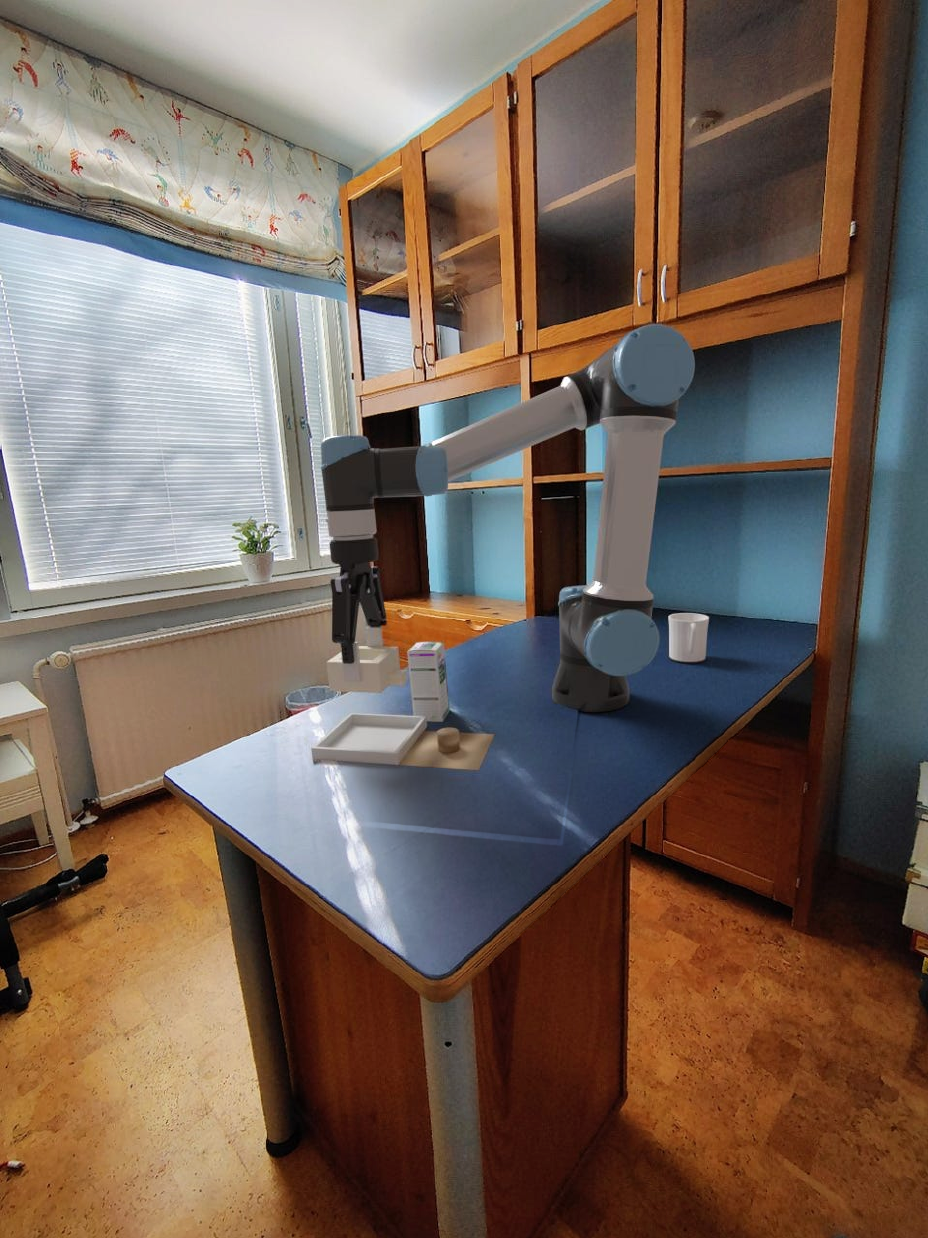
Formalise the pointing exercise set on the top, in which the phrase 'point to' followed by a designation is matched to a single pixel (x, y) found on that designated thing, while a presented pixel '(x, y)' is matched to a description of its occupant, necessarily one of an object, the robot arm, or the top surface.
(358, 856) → the top surface
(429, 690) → the syrup box
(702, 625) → the mug
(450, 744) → the tan square lid
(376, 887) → the top surface
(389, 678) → the cream hollow block
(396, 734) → the tray
